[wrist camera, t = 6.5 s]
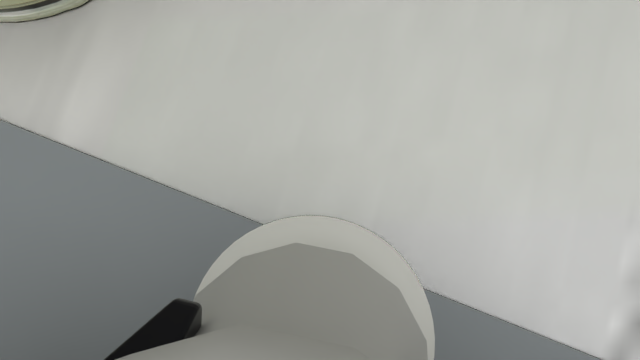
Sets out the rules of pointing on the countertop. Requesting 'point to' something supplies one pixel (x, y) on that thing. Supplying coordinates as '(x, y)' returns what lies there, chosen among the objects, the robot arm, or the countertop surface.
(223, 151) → the countertop surface
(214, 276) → the mat
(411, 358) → the salt shaker
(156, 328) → the robot arm
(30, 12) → the coffee can
